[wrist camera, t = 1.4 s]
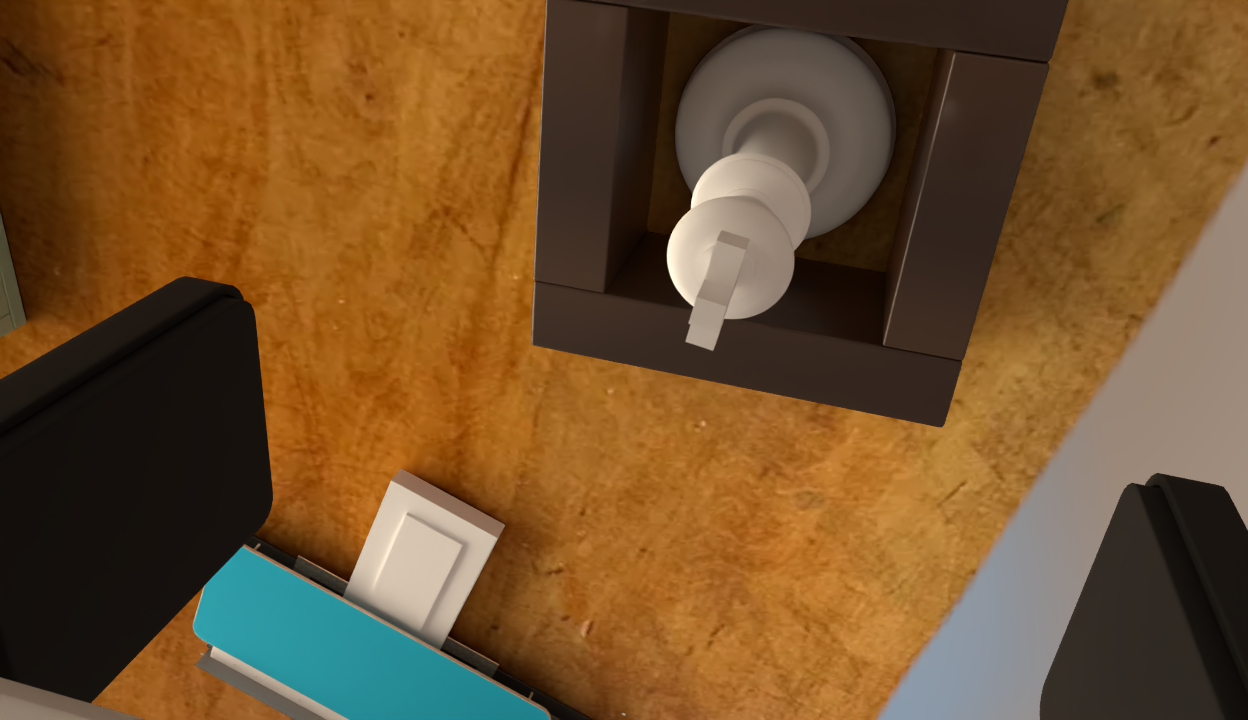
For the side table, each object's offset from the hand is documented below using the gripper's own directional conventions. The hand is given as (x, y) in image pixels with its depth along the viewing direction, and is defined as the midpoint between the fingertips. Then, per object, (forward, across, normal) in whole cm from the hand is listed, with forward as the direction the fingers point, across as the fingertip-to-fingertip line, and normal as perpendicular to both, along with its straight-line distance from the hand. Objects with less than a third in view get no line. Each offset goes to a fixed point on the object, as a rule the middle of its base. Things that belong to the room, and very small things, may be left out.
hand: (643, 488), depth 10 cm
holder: (+14, 0, 0) cm, 14 cm away
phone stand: (+14, +10, +18) cm, 25 cm away
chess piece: (+14, 0, 0) cm, 14 cm away
